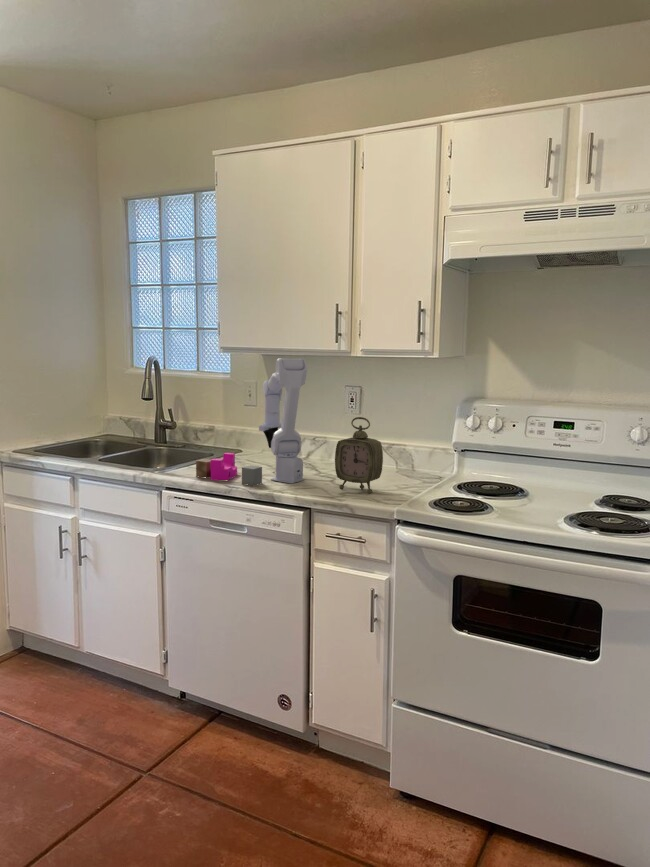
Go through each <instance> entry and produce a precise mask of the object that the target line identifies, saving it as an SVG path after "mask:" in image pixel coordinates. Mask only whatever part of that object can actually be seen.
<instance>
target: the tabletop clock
mask: <svg viewBox="0 0 650 867" xmlns="http://www.w3.org/2000/svg"><path fill="white" fill-rule="evenodd" d="M355 420H363V421H366V422H367V424H368V426H366V427H363V425H361V424H360V425H358V426H356V425H354V421H355ZM351 426H352V427H353V428H354V429H355V431H354V432H353V435H352V437H349V438H345V439H341V440H338V441H337V443H336V447H335V454H334V466H335V467H334V468H335V474H336V477H337V478H338V479H339V480H341V481H343V483H342V484H340V485H339V486H338V487H339V489H340V490H343V489H345V486H344V485H345V484H346V483H347V482H349V483H356V484H360V485H359V488H361V490H363V489H365V485H364V484H366V485H367V491H366V492H367V493H368V494H372V493H373V489H372V488H371V484H370V483H371V482H372V481H375V480H378V479H380V477H381V475H382V471H383V464H384V463H383V462H384V454H383V453H384V450H383V446H382V443H381V441H379V440H378V439H375V438H371V437H369V436H368V434H367V432H366V431H365V430H367V429H369V428H370V426H371V422H370V421H369V419H368V418H366V417H363V416H358V417H354V418H353V419H352V420H351Z"/></svg>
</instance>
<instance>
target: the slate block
mask: <svg viewBox="0 0 650 867" xmlns="http://www.w3.org/2000/svg"><path fill="white" fill-rule="evenodd" d="M260 483H262V484H263V467H262V466H259V465H251V464H249V465H246V466H243V467H242V466H241V485H243V484H248V485H247V486H249V485H256V486H258V485H257V484H259V485H261V484H260Z"/></svg>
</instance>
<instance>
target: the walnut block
mask: <svg viewBox="0 0 650 867" xmlns="http://www.w3.org/2000/svg"><path fill="white" fill-rule="evenodd" d="M211 460H212V459H210V458H202V459H196V460H195V476H199V477H198V478H201V477H206V478H205V479H208V478H207V477H210V478H211Z"/></svg>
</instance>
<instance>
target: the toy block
mask: <svg viewBox="0 0 650 867" xmlns="http://www.w3.org/2000/svg"><path fill="white" fill-rule="evenodd" d="M235 475H237V476H238V466H236V453H233V452H224V453H223V455H222V458H212V459H211V477H210V480H211V479H212V480H211V481H219V480H228V481H230V480H231V479H230V478H232V477H233V478H235V477H236V476H235ZM234 476H235V477H234ZM233 478H232V479H233ZM229 479H230V480H229Z"/></svg>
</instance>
